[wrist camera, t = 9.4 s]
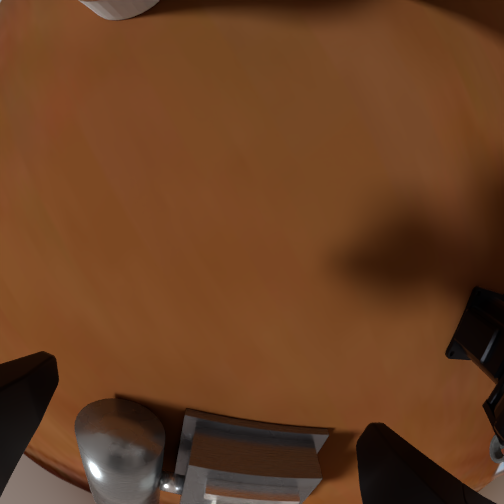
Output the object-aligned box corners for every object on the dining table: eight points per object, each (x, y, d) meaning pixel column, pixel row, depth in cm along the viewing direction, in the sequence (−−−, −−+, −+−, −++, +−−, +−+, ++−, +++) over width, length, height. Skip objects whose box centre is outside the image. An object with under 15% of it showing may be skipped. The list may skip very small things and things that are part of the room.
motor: (327, 428, 22) (345, 491, 15) (278, 500, 25) (283, 548, 18) (93, 379, 21) (57, 435, 14) (104, 465, 24) (85, 510, 17)
